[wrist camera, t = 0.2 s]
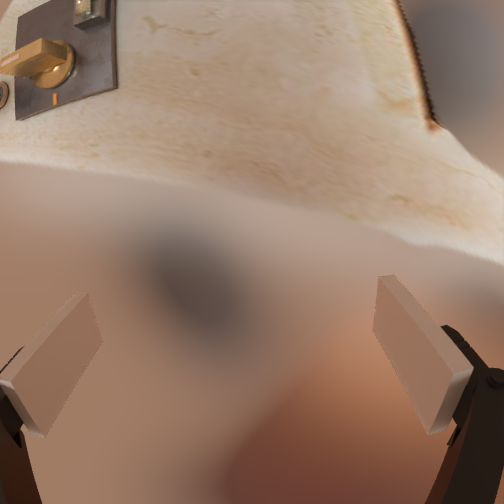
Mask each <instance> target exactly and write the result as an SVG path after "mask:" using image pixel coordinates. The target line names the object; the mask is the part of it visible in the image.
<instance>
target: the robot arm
mask: <svg viewBox="0 0 504 504" xmlns="http://www.w3.org/2000/svg"><path fill="white" fill-rule="evenodd" d="M373 332H374V333H375V335H376V337H377V339H378V340H379V342H380V344H381V346H382V348H383V350H384V351H385V353H386V355H387V357H388V359H389V361H390V362H391V364H392V366H393V368H394V370H395V372H396V374H397V375H398V377H399V379H400V381H401V383H402V385H403V387H404V389H405V391H406V393H407V395H408V397H409V399H410V400H411V402H412V404H413V406H414V408H415V410H416V412H417V414H418V416H419V418H420V420H421V422H422V425H423V427H424V428H425V431H426V433H427V435H429V434H433V433H436V432H440V431H443V430H446V429H447V428H448V425H449V424H450V421H451V419H452V417H453V419H454V421H455V422H456V424H457V426H456V428H455V430H454V432H453V434H452V436H451V438H450V440H449V441H448V443H447V445H449V447H448V450H447V453H446V455H445V458H444V461H443V463H442V465H441V468H440V470H439V473H438V475H437V478H436V480H435V482H434V484H433V487H432V489H431V491H430V493H429V496H428V498H427V500H426V502H425V504H494V502H495V498H496V495H497V491H498V488H499V484H500V480H501V475H502V471H503V467H504V370H501V369H499V368H489V367H488V366H487V365H486V364H485V363H484V362H483V360H482V359H481V358H480V357H479V356H478V354H477V353H476V352H475V351H474V350H473V349H472V347H470V345H469V344H468V343H467V341H464V338H463V337H462V336H461V335H460V334H459V332H458V331H456V330H455V329H453V328H451V327H449V326H448V325H444V326H439V325H438V323H437V322H436V321H435V320H434V319H433V318H432V316H430V314H429V313H428V312H427V311H426V310H425V309H424V308H423V306H422V305H421V304H420V303H419V302H418V301H417V300H416V298H415V297H414V296H413V295H412V294H411V293H410V292H409V291H408V290H407V288H405V286H404V285H403V284H402V283H401V282H400V281H399V280H398V279H397V278H396V277H395V276H394V275H391V276H381V277H379V278H378V288H377V298H376V307H375V316H374V323H373ZM102 343H103V339H102V336H101V333H100V330H99V327H98V324H97V320H96V317H95V314H94V311H93V307H92V304H91V301H90V297H89V294H88V293H75V294H74V295H73V296H72V297H71V298H70V299H69V300H68V301H67V302H66V303H65V304H64V305H63V306H62V307H61V308H60V309H59V310H58V311H57V312H56V313H55V314H54V315H53V316H52V317H51V318H50V319H49V320H48V322H47V323H46V324H45V325H44V326H43V327H42V328H41V329H40V330H39V331H38V332H37V333H36V334H35V335H34V337H32V339H31V340H30V341H29V342H28V343H27V344H26V345H25V346H24V347H22V348H21V349H19V350H18V351H17V353H16V354H15V355H14V356H13V358H11V359H10V361H9V362H8V364H6V365H5V366H4V367H3V368H2V370H1V371H0V504H42V501H41V498H40V495H39V492H38V489H37V485H36V482H35V479H34V475H33V471H32V468H31V464H30V460H29V456H28V451H27V447H26V442H25V437H24V434H23V432H22V431H21V430H20V428H21V426H22V425H23V423H24V424H25V426H26V427H27V429H28V430H29V432H30V433H31V434H33V435H37V436H40V437H44V438H46V436H47V434H48V432H49V430H50V428H51V427H52V425H53V423H54V421H55V420H56V418H57V416H58V415H59V413H60V411H61V409H62V408H63V406H64V404H65V403H66V401H67V399H68V398H69V396H70V394H71V393H72V391H73V389H74V388H75V386H76V384H77V383H78V381H79V379H80V378H81V376H82V375H83V373H84V371H85V370H86V368H87V367H88V365H89V363H90V362H91V360H92V359H93V357H94V356H95V354H96V352H97V351H98V349H99V348H100V346H101V345H102Z"/></svg>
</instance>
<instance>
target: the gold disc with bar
mask: <svg viewBox="0 0 504 504" xmlns="http://www.w3.org/2000/svg"><path fill="white" fill-rule="evenodd" d="M73 64H74V51H73V48H72V47H71V46H70V45H69V44H68V43H66V42H64V41H61V40H55V41H49V40H47V39H44V38H40V39H38V40H36V41H34V42H32V43H30V44H28V45H26V46H24V47H22V48H20V49H18V50H16V51H15V52H13V53H11V54H9V55H7V56H6V57H4V58H2V59H1V61H0V74H7V75H14V76H20V77H24V78H26V79H27V78H29V77H31V76H32V79H33V82H34V83H35V84H36V85H37V86H38V87H40V88H45V89H51V88H55V87H57V86H58V85H60V84H61V83H62V82H63V81H64V80H65V79H66V78H67V77H68V75H69V74H70V72H71V70H72V67H73Z"/></svg>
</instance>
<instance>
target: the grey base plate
mask: <svg viewBox="0 0 504 504" xmlns="http://www.w3.org/2000/svg"><path fill="white" fill-rule="evenodd" d="M40 38H44V39H47V40H49V41H55V40H61V41H64V42H66V43H68V44H69V45H70V46H71V47H72V48H73V51H74V64H73V67H72V70H71V72H70V74H69V75H68V77H67V78H66V79H65V80H64V81H63V82H62V83H61V84H60V85H58V86H57V87H55V88H51V89H45V88H40V87H38V86H37V85H36V84H35V83H34V82H33V79H32V76H31V77H29V78H27V79H26V78H24V77H20V76H15V116H16V120H24V119H26V118H29V117H31V116H34V115H36V114H39V113H41V112H44V111H47V110H49V109H52V108H55V107H58V106H61V105H63V104H66V103H69V102H72V101H75V100H79V99H82V98H85V97H88V96H91V95H95V94H98V93H102V92H105V91H109V90H113V89H116V88H117V73H116V48H115V0H51V1H48V2H46V3H44V4H42V5H40V6H38V7H36V8H35V9H33V10H31V11H29V12H27V13H25V14H23V15H22V16H20V17H18V24H17V35H16V49H15V51H16V50H18V49H20V48H22V47H24V46H26V45H28V44H30V43H32V42H34V41H36V40H38V39H40Z"/></svg>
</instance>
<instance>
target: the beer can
mask: <svg viewBox="0 0 504 504" xmlns="http://www.w3.org/2000/svg"><path fill="white" fill-rule="evenodd" d="M7 95H8V88H7V85H6V83H4V82H0V108H1V107H2V106H3V105H4V103H5V101H6V99H7Z"/></svg>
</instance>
